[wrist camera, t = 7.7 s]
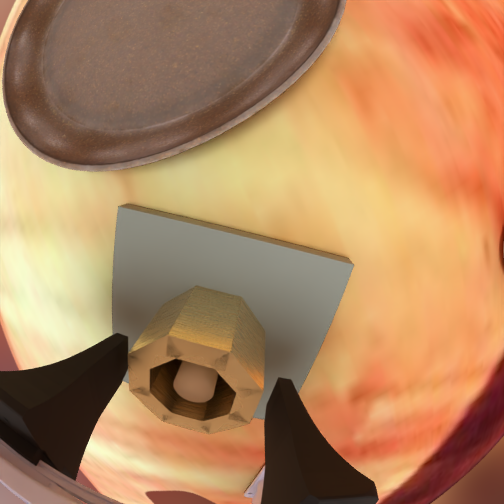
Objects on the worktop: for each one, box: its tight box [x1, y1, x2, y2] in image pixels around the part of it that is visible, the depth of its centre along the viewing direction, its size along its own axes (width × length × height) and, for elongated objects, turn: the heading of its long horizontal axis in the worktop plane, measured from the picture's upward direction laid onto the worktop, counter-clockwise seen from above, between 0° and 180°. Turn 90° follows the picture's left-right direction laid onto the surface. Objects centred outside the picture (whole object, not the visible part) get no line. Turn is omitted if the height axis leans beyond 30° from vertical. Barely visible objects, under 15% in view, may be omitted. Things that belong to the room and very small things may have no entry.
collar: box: [128, 286, 265, 434], centre depth 12 cm, size 6×6×4 cm
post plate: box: [112, 204, 354, 420], centre depth 13 cm, size 12×12×5 cm
